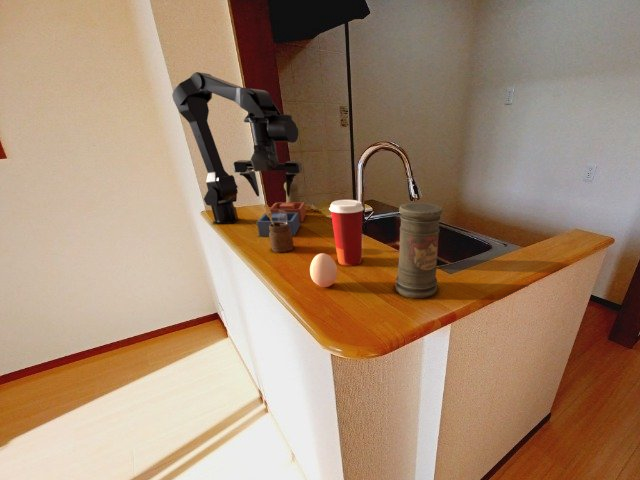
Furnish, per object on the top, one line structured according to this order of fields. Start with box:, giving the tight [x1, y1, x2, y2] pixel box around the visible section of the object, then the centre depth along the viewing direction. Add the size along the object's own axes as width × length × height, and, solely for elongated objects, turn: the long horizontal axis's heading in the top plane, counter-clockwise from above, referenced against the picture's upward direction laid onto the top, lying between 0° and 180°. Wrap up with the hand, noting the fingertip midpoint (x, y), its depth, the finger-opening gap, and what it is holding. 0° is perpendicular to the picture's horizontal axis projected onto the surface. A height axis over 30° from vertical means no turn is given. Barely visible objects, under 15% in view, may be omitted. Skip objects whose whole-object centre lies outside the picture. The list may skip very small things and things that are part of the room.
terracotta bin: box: [269, 201, 307, 223], centre depth 116 cm, size 11×11×5 cm
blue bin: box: [256, 212, 301, 237], centre depth 103 cm, size 11×11×5 cm
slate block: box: [270, 214, 288, 221], centre depth 103 cm, size 4×4×4 cm
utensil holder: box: [263, 204, 294, 253], centre depth 87 cm, size 6×6×12 cm
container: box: [394, 202, 443, 299], centre depth 66 cm, size 9×9×18 cm
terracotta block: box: [280, 202, 295, 209], centre depth 115 cm, size 4×4×4 cm
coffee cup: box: [328, 199, 365, 267], centre depth 79 cm, size 8×8×15 cm
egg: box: [309, 252, 338, 288], centre depth 69 cm, size 6×6×8 cm
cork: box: [283, 181, 301, 203], centre depth 124 cm, size 6×6×11 cm
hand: (273, 196), depth 100 cm, fingers open, 9 cm apart
